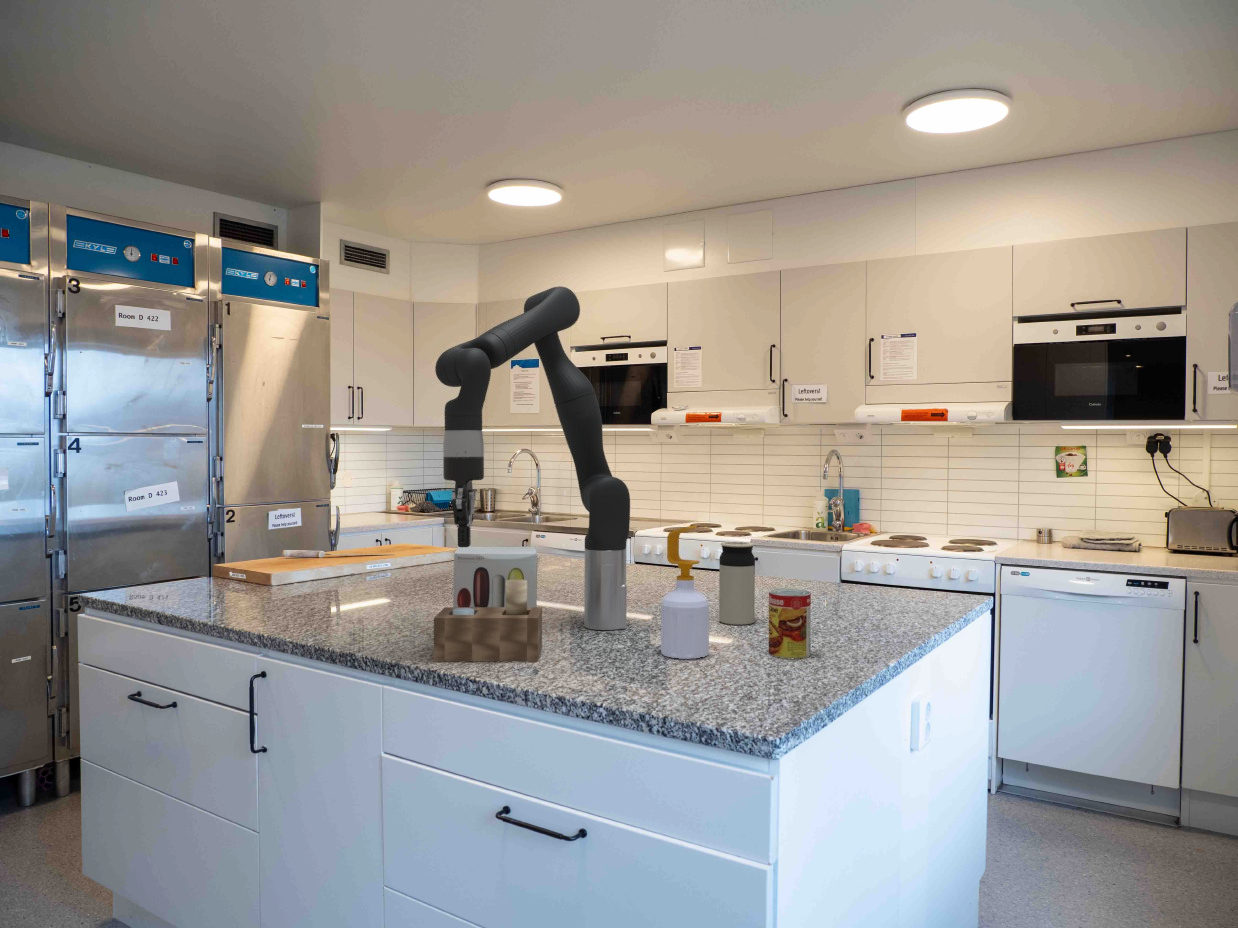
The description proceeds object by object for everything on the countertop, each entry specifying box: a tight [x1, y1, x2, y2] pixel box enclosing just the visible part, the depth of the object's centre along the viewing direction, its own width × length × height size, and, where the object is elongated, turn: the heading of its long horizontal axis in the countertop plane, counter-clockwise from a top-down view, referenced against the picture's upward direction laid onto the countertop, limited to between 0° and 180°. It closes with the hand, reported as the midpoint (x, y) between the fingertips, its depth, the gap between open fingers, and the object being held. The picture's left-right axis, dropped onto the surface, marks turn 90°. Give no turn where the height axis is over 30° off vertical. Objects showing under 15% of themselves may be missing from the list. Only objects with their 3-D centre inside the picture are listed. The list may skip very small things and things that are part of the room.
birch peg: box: [506, 579, 527, 615], centre depth 159 cm, size 4×4×8 cm
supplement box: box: [452, 545, 538, 607], centre depth 177 cm, size 17×13×18 cm
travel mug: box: [718, 541, 756, 626], centre depth 191 cm, size 8×8×18 cm
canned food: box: [768, 587, 812, 659], centre depth 160 cm, size 8×8×12 cm
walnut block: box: [433, 606, 543, 663], centre depth 159 cm, size 19×11×8 cm, turn 91°
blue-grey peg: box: [453, 608, 474, 615], centre depth 159 cm, size 4×4×8 cm
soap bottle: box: [660, 525, 710, 660], centre depth 159 cm, size 9×9×25 cm
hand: (464, 546), depth 158 cm, fingers closed
